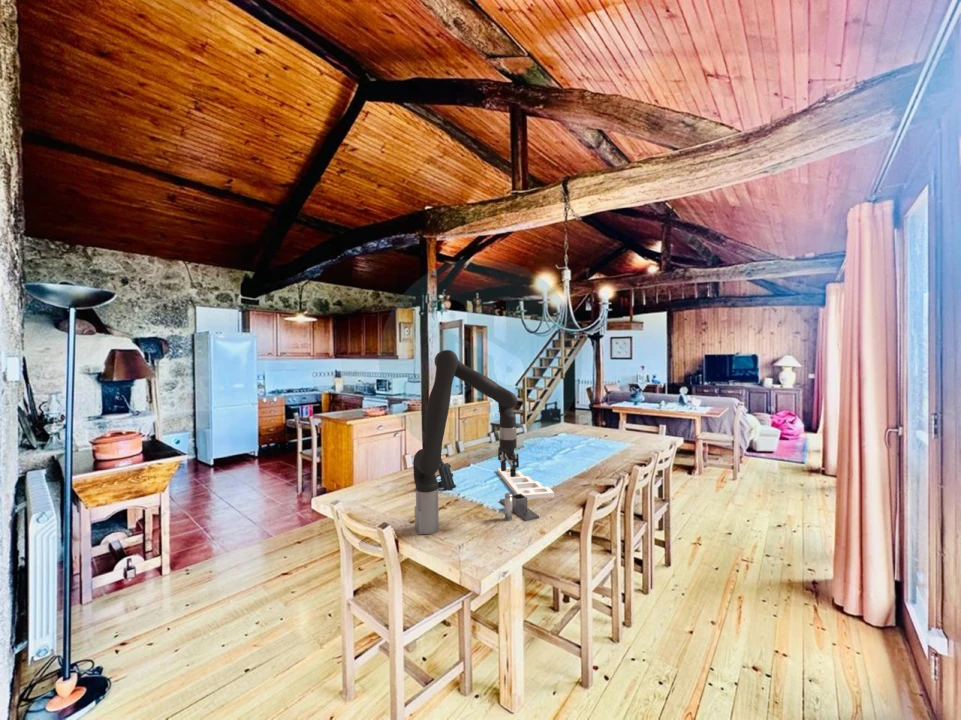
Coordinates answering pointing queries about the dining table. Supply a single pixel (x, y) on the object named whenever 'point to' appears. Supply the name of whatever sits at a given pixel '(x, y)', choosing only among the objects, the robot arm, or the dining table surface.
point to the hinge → (521, 507)
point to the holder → (525, 485)
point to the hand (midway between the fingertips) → (508, 473)
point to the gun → (445, 476)
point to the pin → (508, 506)
